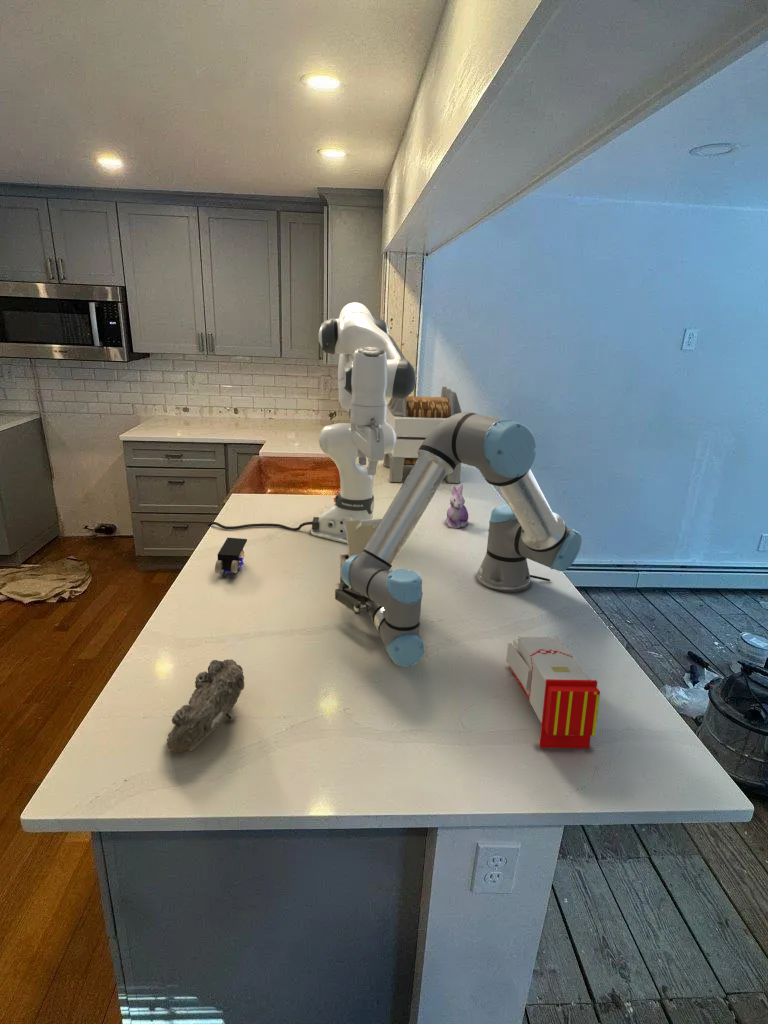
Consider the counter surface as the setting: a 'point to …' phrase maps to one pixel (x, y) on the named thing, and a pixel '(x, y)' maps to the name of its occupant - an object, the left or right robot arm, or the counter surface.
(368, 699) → the counter surface
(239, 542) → the figurine character
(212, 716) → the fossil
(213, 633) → the counter surface
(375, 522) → the lid
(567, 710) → the toy
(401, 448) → the grey boxy piece
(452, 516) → the figurine
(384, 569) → the right robot arm
